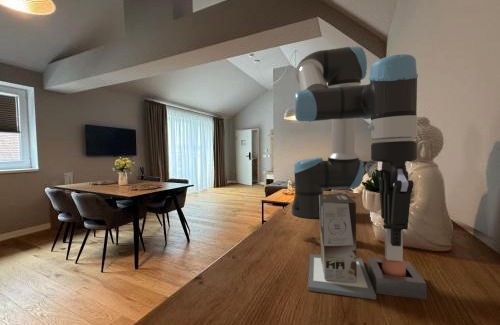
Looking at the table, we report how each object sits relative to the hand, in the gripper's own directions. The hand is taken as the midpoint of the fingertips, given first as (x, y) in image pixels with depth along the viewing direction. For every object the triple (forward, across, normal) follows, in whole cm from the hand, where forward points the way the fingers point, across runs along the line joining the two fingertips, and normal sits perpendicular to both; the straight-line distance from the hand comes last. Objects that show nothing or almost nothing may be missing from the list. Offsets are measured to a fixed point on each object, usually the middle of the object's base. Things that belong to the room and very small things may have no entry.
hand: (393, 258), depth 45 cm
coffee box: (+4, -1, -10) cm, 11 cm away
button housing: (+5, 0, 0) cm, 5 cm away
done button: (+4, 0, 0) cm, 4 cm away
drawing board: (+5, -1, -10) cm, 12 cm away
